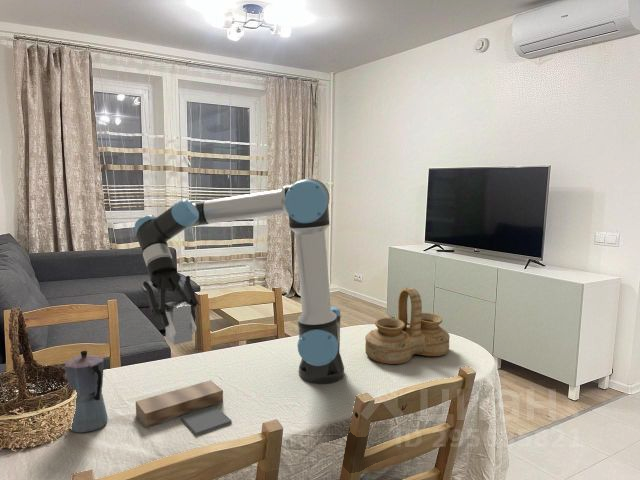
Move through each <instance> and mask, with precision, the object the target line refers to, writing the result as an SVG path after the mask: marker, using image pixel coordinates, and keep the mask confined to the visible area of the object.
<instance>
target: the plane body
mask: <svg viewBox="0 0 640 480" xmlns="http://www.w3.org/2000/svg"><path fill="white" fill-rule="evenodd" d="M222 404H224V390H223V389H222V388H221V387H220V386H218V385H217V384H216V383H215V382H214V381H212V380H211V379H210V380H207V381H203V382H201V383H196V384H193V385H189V386H185V387H182V388H178V389H174V390H170V391H168V392H164V393H161V394H158V395H153V396H150V397H147V398H143V399H139V400H135V415H136V417H137V418H138V420H139V421H140V422H141V424H142V425H143V426H144V428H145V429H147V428H150V427H154V426H156V425H160V424H163V423H166V422H169V421H171V420H175V419H178V418H179V419H180V418H181V416H183V415H186V414H189V413H192V412H195V411H198V410H201V409H205V408H208V407H211V406H214V405H215V406H216V407H217V406H220V405H222Z"/></svg>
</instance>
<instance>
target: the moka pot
mask: <svg viewBox="0 0 640 480" xmlns="http://www.w3.org/2000/svg"><path fill="white" fill-rule="evenodd" d="M104 366H105V362H104V356H102V355H96V354H88V351H87V350H82V351H80V355H76V356H73V357H71V359H69V360H67V361H65V363H64V371H65V375H66V380H67V383H68V386H69V385H70V386H71V387H72V388H73V389H74V390H76V392H77V398H76V409H75V410H76V411H75V414H74V418H73V423H72V430H73V431H72V430H71V431H72V432H74V433H86V432H92V431H95V430H99V429H101V428H102V427H103V426H104V425H106V424H107V422H108V420H109V419H108V418H109V417H108V413H107V409H106V405H105V401H104V396H103V393H102V392H103V389H102V388H103V383H104V382H103V381H104Z"/></svg>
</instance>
